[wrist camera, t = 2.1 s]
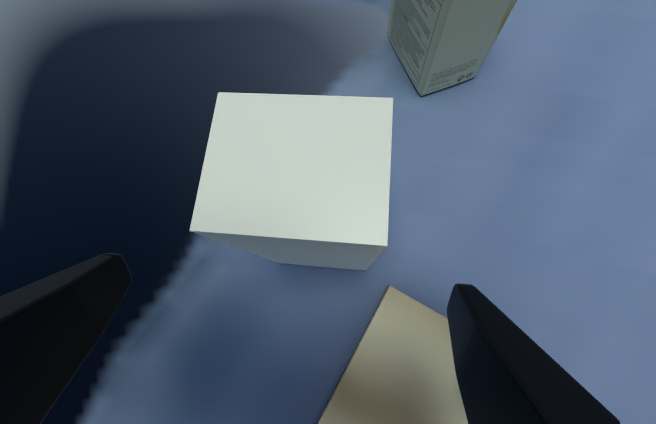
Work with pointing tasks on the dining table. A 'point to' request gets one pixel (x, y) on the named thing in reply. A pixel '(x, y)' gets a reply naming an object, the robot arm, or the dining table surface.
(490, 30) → the skincare box
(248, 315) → the dining table surface
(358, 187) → the tall white cuboid
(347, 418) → the board
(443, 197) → the dining table surface
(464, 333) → the robot arm
